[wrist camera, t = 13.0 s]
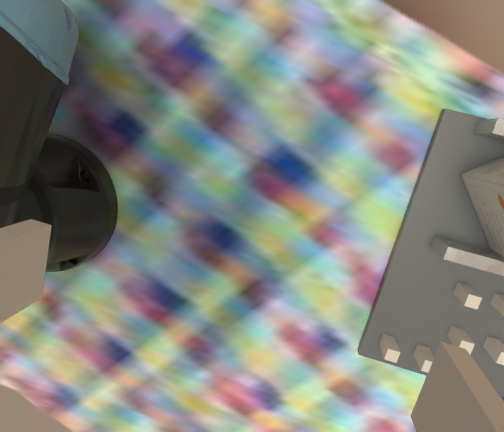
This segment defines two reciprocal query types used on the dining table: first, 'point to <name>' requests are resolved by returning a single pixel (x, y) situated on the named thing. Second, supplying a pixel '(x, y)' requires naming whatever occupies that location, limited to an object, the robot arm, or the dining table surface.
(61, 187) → the robot arm
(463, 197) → the board
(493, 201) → the small box
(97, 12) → the dining table surface
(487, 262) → the end holder
